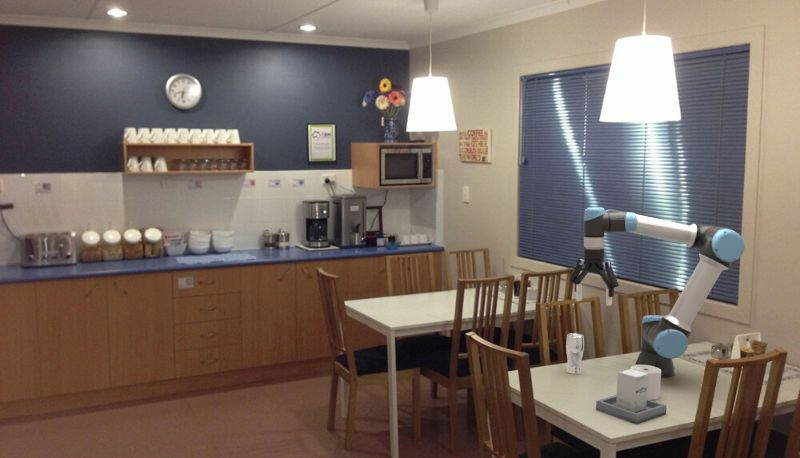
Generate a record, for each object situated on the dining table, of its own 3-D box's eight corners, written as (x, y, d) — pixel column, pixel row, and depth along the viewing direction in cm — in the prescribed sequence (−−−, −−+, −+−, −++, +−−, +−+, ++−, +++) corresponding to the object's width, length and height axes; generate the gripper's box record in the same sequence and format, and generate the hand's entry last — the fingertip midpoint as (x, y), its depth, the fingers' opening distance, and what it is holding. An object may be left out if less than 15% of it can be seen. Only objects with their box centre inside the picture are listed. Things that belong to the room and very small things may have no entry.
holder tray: (625, 400, 261) (626, 392, 260) (666, 413, 248) (666, 405, 247) (595, 409, 251) (596, 400, 251) (636, 423, 238) (636, 415, 238)
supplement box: (633, 413, 244) (635, 377, 243) (615, 407, 250) (617, 371, 249) (647, 409, 249) (649, 373, 247) (628, 403, 255) (630, 368, 253)
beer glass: (583, 375, 289) (584, 338, 288) (565, 373, 291) (566, 337, 289) (582, 369, 296) (584, 333, 295) (564, 368, 298) (566, 332, 296)
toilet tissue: (653, 390, 272) (655, 364, 271) (665, 402, 260) (667, 374, 259) (625, 390, 272) (626, 364, 271) (635, 401, 260) (637, 374, 259)
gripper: (628, 249, 271) (627, 305, 273) (573, 244, 290) (572, 297, 292) (616, 251, 266) (616, 308, 268) (561, 246, 285) (561, 300, 287)
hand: (593, 303), depth 280 cm, fingers open, 13 cm apart
